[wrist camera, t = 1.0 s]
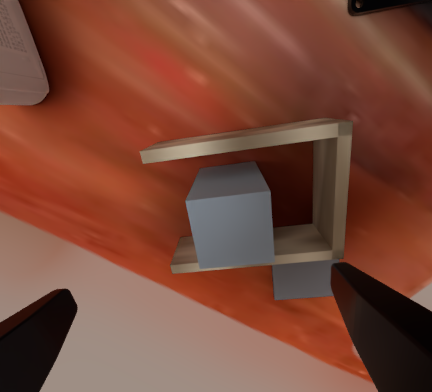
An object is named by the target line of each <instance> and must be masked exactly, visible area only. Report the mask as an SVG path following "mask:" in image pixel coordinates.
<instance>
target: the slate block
mask: <svg viewBox="0 0 432 392" xmlns="http://www.w3.org/2000/svg"><path fill="white" fill-rule="evenodd" d="M185 202H186V206H187V211H188V216H189V221H190V225H191V230H192V235H193V240H194V244H195V249H196V254H197V259H198V263H199V268H200V269H206V268H217V267H228V266H240V265H251V264H262V263H273V262H275V256H274V240H273V224H272V208H271V192H270V189H269V187H268V185H267V183H266V181H265V180H264V178H263V176H262V174H261V172H260V170H259V168H258V166H257V164H256V162H255V161H252V162H244V163H237V164H229V165H221V166H214V167H206V168H200V169H199V172H198V174H197V176H196V178H195V181H194V183H193V185H192V187H191V190H190V192H189V194H188V196H187V199H186V201H185Z"/></svg>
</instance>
